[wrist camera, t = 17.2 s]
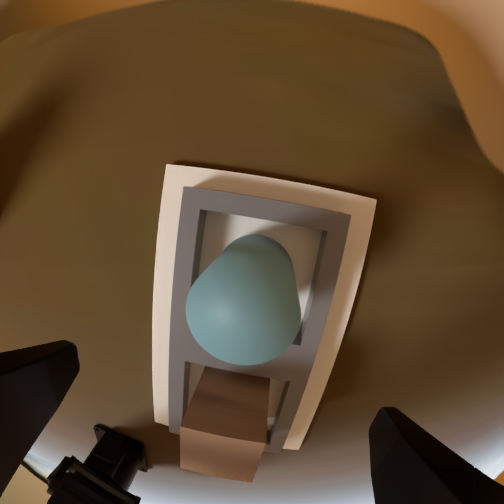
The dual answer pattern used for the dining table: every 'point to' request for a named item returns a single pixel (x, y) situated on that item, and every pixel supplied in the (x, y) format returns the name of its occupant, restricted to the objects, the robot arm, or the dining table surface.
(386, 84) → the dining table surface
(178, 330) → the tray
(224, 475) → the walnut block
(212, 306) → the teal cylinder
